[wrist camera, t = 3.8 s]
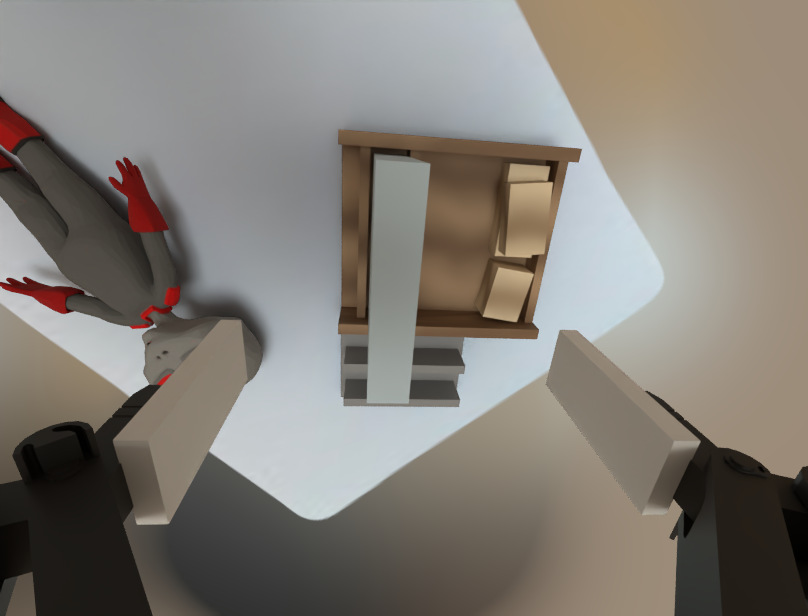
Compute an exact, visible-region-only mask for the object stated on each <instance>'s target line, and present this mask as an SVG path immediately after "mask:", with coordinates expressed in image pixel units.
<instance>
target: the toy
mask: <svg viewBox="0 0 808 616" xmlns="http://www.w3.org/2000/svg"><path fill="white" fill-rule="evenodd" d="M0 145H2V146H3V147H4V148H5V149H6V150H7V151H9V152H10V153H12V154H14V155H16V156H18V158H19V159H20V160H21V162H22V163H23V165H24V166H25V167H26V169H27V170H28V171H29V173H30V174H31V175H32V177H33V178H34V180H35V181H36V182H37V184H38V185H39V187H40V189H41V191H40V190H39V189H37V188H36V187H35V186H33V185H32V184H31V183H29V182H28V181H27V180H26V179H24V178H23V177H22V176H20V175H19V174H18V173H16V172H17V169H16V168H15V167H14V166H13V165H12V164H10V163H9V162H8V161H7V160H6V159H5V158H4V157H3V156H2V155H1V154H0V196H1V197H2V199H3V200H4V201H5V202H6V203H7V204H8V205H9V207H10V208H11V209H12V210H13V212H14V213H15V215H16V216H17V218H18V219H19V220H20V222H21V223H22V224H23V225H24V226H25V227H26V228H27V229H28V230H29V231H30V232H31V233H32V234H33V235H34V236H35V237H36V239H37V240H38V241H39V243H40V244H41V245H42V247H43V248H44V249H45V251H46V252H47V253H48V255H49V256H50V257H51V258H52V259H53V260H54V261H55V263H56V264H57V266H58V268H59V270H60V271H61V272H62V273H63V274H64V275H65V276H66V277H67V278H68V279H69V280H71V281H72V282H74V283H75V284H77V285H78V286H80V287H82V288H83V289H85V290H86V291H88V292H89V293H91V294H92V295H94V296H96V297H92V296H87V295H85V293H84V291H82V290H80V289H77V288H73V287H64V286H55V287H51V286H48V285H44V284H41V283H38V282H36V281H33V280H31V279H29V278H27V277H23V280H24V282H26V283H27V284H25V283H22V282H19V281H17V280H15V279H13V278H7V279H6V280H7V281H8V282H9V283H10V284H7V283H3V282H0V286H1V287H2V288H3V289H5V290H8V291H11V292H15V293H20V294H24V295H28V296H32V297H33V298H35V299H36V300H37V301H39V302H40V303H42V304H43V305H45V306H47V307H49V308H50V309H52V310H54V311H57V312H59V313H61V314H67V313H70V312H73V311H77V312H80V313H84V314H87V315H91V316H95V317H98V318H101V319H103V320H105V321H107V322H110V323H114V324H118V325H123V326H130V327H131V328H132V329H138V328H149V327H150V326H152V325H153V324H154V323H155V325H156V326H157V327H156V328H152V329H150V330H147V331H146V332H145V333H144V334H143V335H142V339H143V341H144V344H145V367H144V370H143V371H144V375H145V377H146V379H147V380H148V382H149V384H150V385H163V384H164V383H165V381H166V380H167V379H168V378H169V377H170V376H171V375H172V374H173V373H174V371H175V370H176V369H177V368H178V367H179V366H180V365H181V364H182V362H183V361H184V360H185V359H186V358H187V357H188V356H189V355H190V354H191V352H192V351H193V350H194V349H195V348H196V347H197V346H198V345H199V343H200V342H201V341H202V340H203V339H204V338H205V337H206V336H207V335H208V333H209V332H210V331H211V330H212V329H213V328H214V327H215V326H216V325H217V323H218V322H219V321H220V320H241V319H239V318H236V317H220V316H206V317H201V318H196V319H190V320H189V319H182V318H179V317H177V316H176V315H174V314H173V313H172V312H171V310H172V306H175V305H176V304H177V303H178V301H179V298H180V287H179V285H178V284H177V273H176V269H175V266H174V263H173V261H172V259H171V257H170V253H169V250H168V247H167V244H166V240H165V237H164V234H163V231H165V230H169V228H168V225H167V224H166V222H165V220H164V218H163V216H162V215H161V213H160V211H159V209H158V207H157V206H156V204H155V203H154V202H153V200H152V199H151V197H150V195H149V193H148V190H147V188H146V185H145V183H144V180H143V177H142V175H141V172H140V170H139V168H138V167H137V166H136V165H134V166H133V165H132V163H131V162H130V160H129V159H128V158H126V157H124V158H123V161H124V163H125V165H126V168H127V169H126V168H125V166H124V165H123V164H122V163H121V162H120V161H118V160H116V165H117V167H118V169H119V171H120V173H121V174H122V179H123V181H122V184H121V183H119V182H118V181H117V180H116V179H115V178H113V177H108V178H109V181H110V182H111V184H112V185H113V186H114V188H116V189H117V190H119V191H120V192H121V193H123V194H124V195H126V196H127V197H128V216H129V223H127V222H126V221H125V220H123V219H122V218H121V217H120V216H119V215H118V214H117V213H116V212H115V211H114V210H113V209H112V208H111V207H110V206H109V204H108V203H107V202H106V201H105V200H104V199H103V198H102V197H101V196H100V194H99V193H98V192H96V191H95V190H94V189H93V188H92V187H91V186H90V185H89V184H87V183H86V182H85V181H84V180H82V179H81V178H80V177H79V176H78V175H77V174H76V173H75V172H73V171H72V170H71V169H70V168H69V167H68V166H67V165H66V164H65V163H64V162H63V161H62V160H61V159H60V158H59V157H58V156H57V155H56V154H55V153H54V152H53V151H52V150H51V149H50V148H49V147H48V146H47V145H46V144H45V143H44V137H43V136H42V135H40V134H39V133H38V132H37V131H36V130H35V129H34V128H33V127H32V126H31V125H30V124H29V123H28V122H27V121H26V120H25V119H23V118H22V117H21V116H19V115H18V114H16V113H15V112H14V111H13V110H12V109H11V108H10V107H9V106H8V105H6V103H5V102H4V101H3V99H2V98H1V97H0ZM127 170H128V171H127ZM241 323H242V333H243V342H244V351H245V360H246V370H247V379H248V380H247V382H246V383H245V384H247V383H248V382H249V381H250V380H252V379H253V378H254V376H255V375H256V374H257V372H258V370H259V367H260V365H261V361H262V350H261V347H260V344H259V343H258V341H257V339H256V337H255V336H254V335H253V334H252V333H251V331H250V330H249V329H248V328H247V327H246V325H245V324H244V322H243V321H242V320H241Z"/></svg>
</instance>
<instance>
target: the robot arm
mask: <svg viewBox="0 0 808 616" xmlns="http://www.w3.org/2000/svg"><path fill="white" fill-rule="evenodd" d="M247 380H248V379H247V370H246V360H245V351H244V342H243V333H242V323H241V320H220V321H219V322H218V323H217V325H216V326H215V327H214V328H213V329H212V330H211V331H210V332H209V333H208V335H207V336H206V337H205V338H204V339H203V340H202V341H201V342H200V343H199V345H198V346H197V347H196V348H195V349H194V350H193V351H192V352H191V354H190V355H189V356H188V357H187V358H186V359H185V360H184V361H183V362H182V364H181V365H180V366H179V367H178V368H177V369H176V370H175V371H174V373H173V374H172V375H171V376H170V377H169V378H168V379H167V380H166V381H165V383H164V384H163V385H148V386H146V387H145V388H143V389H141V390H140V391H138V392H136V393H134V394H133V395H132V396H131V397H130V398H129V399H128V400H127V401H126V402H125V403H124V404H123V405H122V408H119V409H118V410H117V411H116V412H115V413H114V414H113V415H112V418H109V419H108V420H107V421H106V423H104V424H103V425H102V426H101V428H99V429H98V431H97V432H96V433H95V434H94V431H93V428H92V427H91V426H90V425H89V424H88V423H84V422H79V421H75V422H64V423H60V424H56V425H52V426H49V427H47V428H44V429H42V430H40V431H38V432H35V433H34V434H32V435H30V436H29V437H27V438H25V439H24V440H23V441H22V442H21V443H20V444H19V445H18V446H17V447H16V448H15V450H14V453H13V458H14V461H15V462H16V465H17V467H18V470H19V472H20V475H21V477H22V479H23V480H19V481H14V482H10V483H5V484H0V616H5V615H6V611H7V608H8V605H9V602H10V599H11V595H12V592H13V589H14V586H15V583H16V580H17V577H18V576H19V575H22V574H26V573H29V572H33V582H34V593H35V605H36V616H152V612H151V609H150V606H149V603H148V600H147V597H146V594H145V591H144V588H143V584H142V581H141V578H140V575H139V572H138V569H137V566H136V563H135V559H134V556H133V553H132V550H131V547H130V544H129V541H128V538H127V535H126V531H125V528H124V525H123V522H124V521H125V519H126V518H127V516H128V514H129V513H130V512H131V510H132V509H133V512H134V515H135V519H136V522H137V525H140V524H141V525H142V524H169V522H170V520H171V518H172V517H173V515H174V513H175V511H176V510H177V508H178V506H179V504H180V502H181V500H182V498H183V497H184V495H185V493H186V491H187V489H188V488H189V486H190V484H191V482H192V480H193V478H194V477H195V475H196V473H197V471H198V469H199V467H200V466H201V464H202V462H203V460H204V458H205V456H206V455H207V453H208V451H209V449H210V447H211V446H212V444H213V442H214V440H215V438H216V436H217V435H218V433H219V431H220V429H221V427H222V425H223V424H224V422H225V420H226V418H227V416H228V414H229V413H230V411H231V409H232V407H233V405H234V403H235V402H236V400H237V398H238V396H239V394H240V392H241V391H242V389H243V387H244V385H245V383H246V382H247ZM546 385H547V387H548V388H549V389H550V390H551V392H552V393H553V395H554V396H555V397H556V399H557V400H558V401H559V403H560V404H561V406H562V407H563V408H564V410H565V411H566V412H567V414H568V415H569V416H570V418H571V419H572V421H573V422H574V423H575V425H576V426H577V427H578V429H579V430H580V432H581V433H582V434H583V436H584V437H585V438H586V440H587V441H588V442H589V444H590V445H591V447H592V448H593V449H594V450H595V452H596V453H597V455H598V456H599V457H600V459H601V460H602V461H603V463H604V464H605V466H606V467H607V468H608V470H609V471H610V472H611V474H612V475H613V477H614V478H615V479H616V481H617V482H618V483H619V485H620V486H621V487H622V489H623V490H624V492H625V493H626V494H627V496H628V497H629V498H630V500H631V501H632V502H633V504H634V505H635V507H636V508H637V509H638V511H639V512H640V513H641V515H665V514H666V513H667V511H668V509H669V507H670V505H671V503H672V501H673V499H674V500H675V501H676V502H677V503H678V505H679V506H680V507H681V508H682V509H683V511H682V513H681V515H680V517H679V519H678V521H677V523H676V525H675V527H674V529H673V531H672V533H671V535H670V539H672V540H674V539H675V537H676V536H677V535H678V541H677V566H676V591H675V616H808V466H806V467H802V469H801V471H800V472H799V474H798V475H797V477H796V478H795V479H792V478H788V477H783V476H779V475H775V474H771V473H770V471H769V470H768V469H767V468H765V467H764V466H763V465H762V464H761V463H760V462H758V461H756V460H755V459H753V458H752V457H750V456H748V455H746V454H743V453H741V452H739V451H736V450H732V449H729V448H718V447H716V446H715V445H714V444H713V443H712V442H711V441H710V440H709V439H707V438H706V437H705V436H704V435H703V434H702V433H700V432H699V431H698V430H697V429H696V428H695V427H693V426H692V425H691V424H690V423H689V422H688V421H686V420H684V418H683V417H682V416H681V415H680V414H679V413H677V412H675V411H674V409H672V408H671V407H670V406H669V405H668V404H667V403H666V402H665V401H664V400H662V399H660V398H659V397H657V396H655V395H653V394H652V393H650V392H648V391H644V390H643V389H642V388H641V387H640V386H638V385H637V384H636V383H635V382H634V381H633V380H632V379H631V378H629V377H628V376H627V375H626V374H625V373H624V372H623V371H622V370H621V369H619V368H618V367H617V366H616V365H615V364H614V363H613V362H611V361H610V360H609V359H608V358H607V357H606V356H605V355H604V354H603V353H601V352H600V351H599V350H598V349H597V348H596V347H595V346H594V345H593V344H591V343H590V342H589V341H588V340H587V339H586V338H585V337H584V336H582V335H581V334H580V333H579V332H578V331H577V330H560V331H559V335H558V339H557V343H556V347H555V351H554V355H553V358H552V362H551V366H550V370H549V374H548V378H547V382H546Z"/></svg>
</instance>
